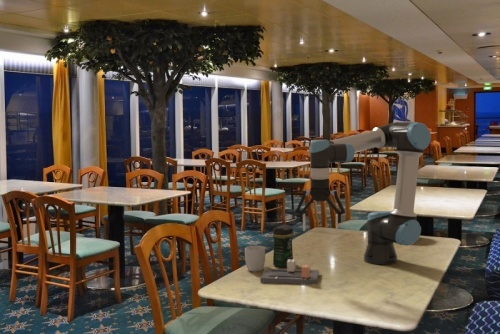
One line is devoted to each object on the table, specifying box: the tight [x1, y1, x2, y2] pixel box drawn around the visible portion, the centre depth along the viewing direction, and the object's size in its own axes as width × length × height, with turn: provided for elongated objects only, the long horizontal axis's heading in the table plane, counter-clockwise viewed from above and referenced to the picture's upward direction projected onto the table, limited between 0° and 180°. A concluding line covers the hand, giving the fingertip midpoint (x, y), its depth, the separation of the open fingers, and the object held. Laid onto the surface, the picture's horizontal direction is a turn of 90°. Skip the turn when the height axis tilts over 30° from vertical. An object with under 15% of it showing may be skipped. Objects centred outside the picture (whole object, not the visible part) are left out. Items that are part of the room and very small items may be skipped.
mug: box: [244, 245, 266, 273], centre depth 248 cm, size 13×9×10 cm
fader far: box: [286, 258, 296, 272], centre depth 236 cm, size 3×4×4 cm
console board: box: [259, 268, 320, 285], centre depth 232 cm, size 23×15×2 cm, turn 79°
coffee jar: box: [272, 224, 294, 268], centre depth 252 cm, size 10×8×19 cm
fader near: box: [301, 264, 311, 278], centre depth 226 cm, size 3×4×4 cm
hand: (320, 230), depth 224 cm, fingers open, 12 cm apart
